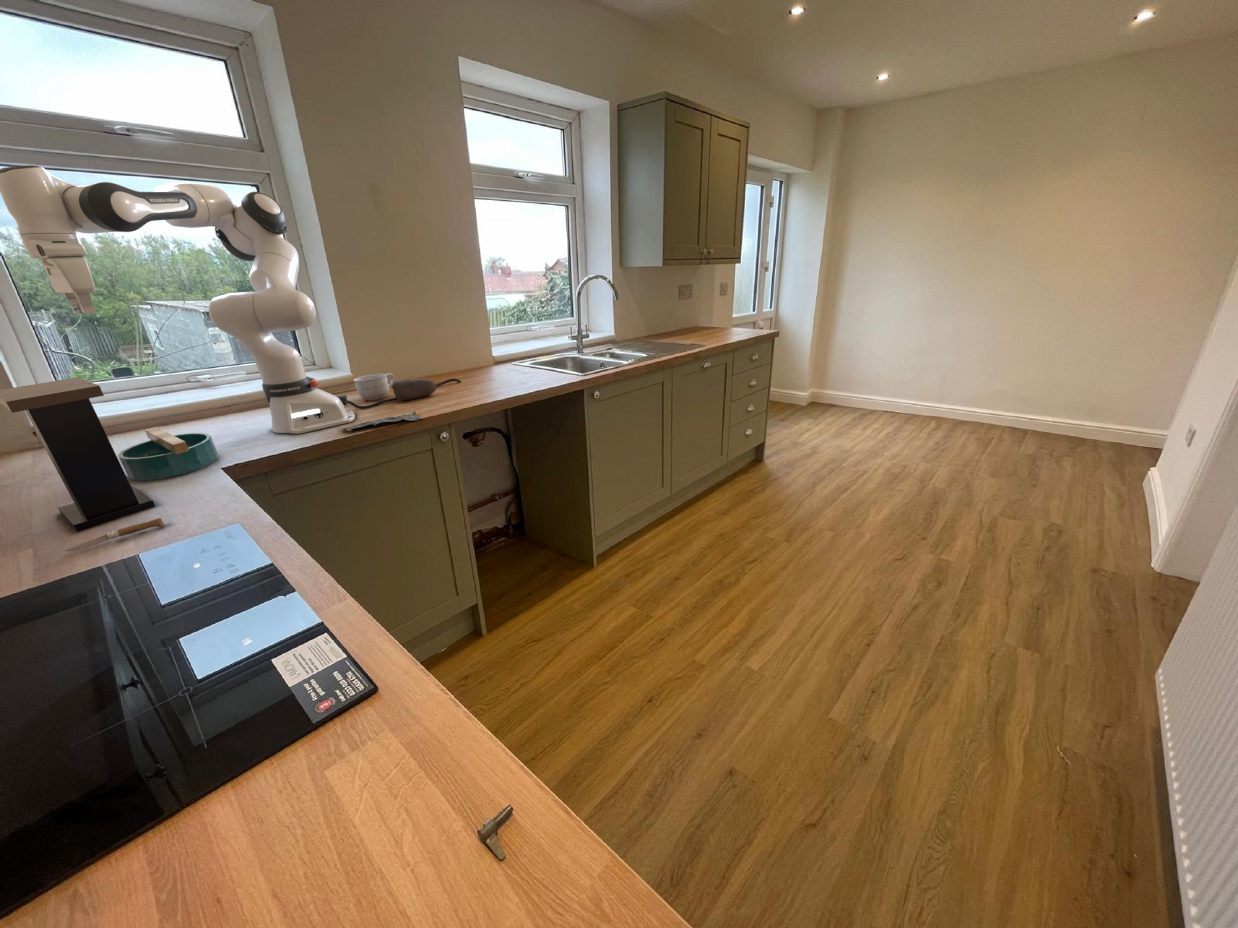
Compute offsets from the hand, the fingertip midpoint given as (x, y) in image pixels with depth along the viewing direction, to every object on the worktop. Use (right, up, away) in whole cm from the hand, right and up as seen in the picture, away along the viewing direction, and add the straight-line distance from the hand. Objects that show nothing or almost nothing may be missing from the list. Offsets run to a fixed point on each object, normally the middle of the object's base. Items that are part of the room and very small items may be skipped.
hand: (84, 313), depth 117 cm
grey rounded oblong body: (+53, -12, +61) cm, 81 cm away
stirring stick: (+13, -30, +7) cm, 34 cm away
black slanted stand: (+17, -45, -11) cm, 49 cm away
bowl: (+13, -36, +9) cm, 39 cm away
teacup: (+38, -11, +64) cm, 75 cm away
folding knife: (+32, -49, -24) cm, 63 cm away
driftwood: (+53, -23, +34) cm, 68 cm away
